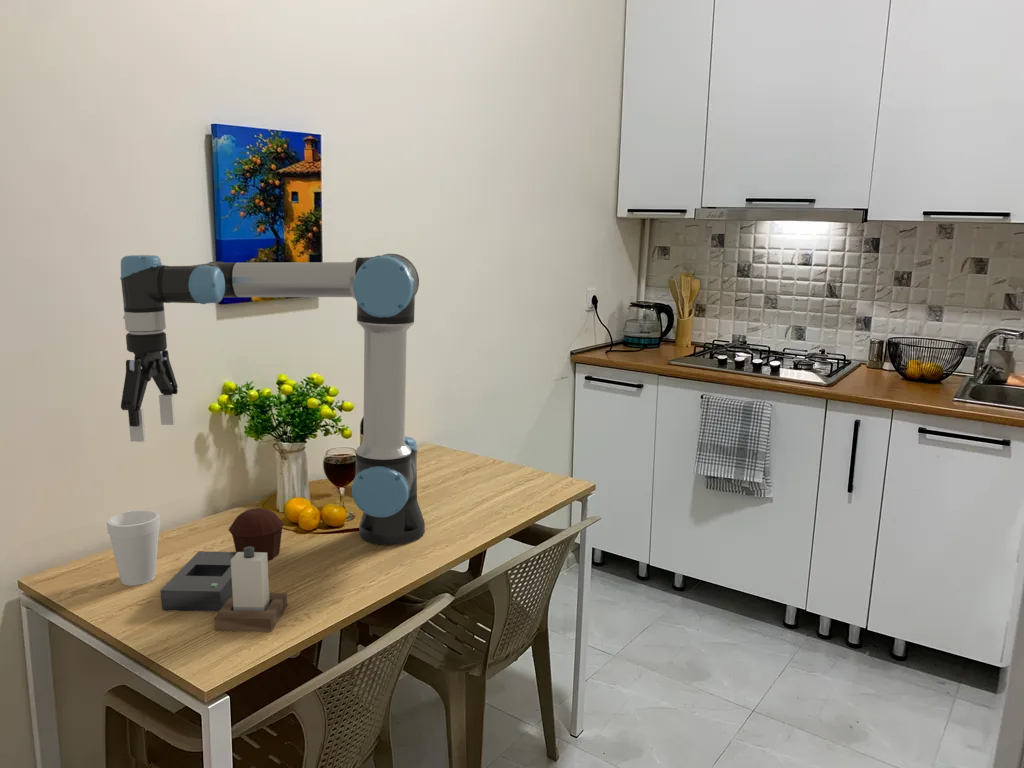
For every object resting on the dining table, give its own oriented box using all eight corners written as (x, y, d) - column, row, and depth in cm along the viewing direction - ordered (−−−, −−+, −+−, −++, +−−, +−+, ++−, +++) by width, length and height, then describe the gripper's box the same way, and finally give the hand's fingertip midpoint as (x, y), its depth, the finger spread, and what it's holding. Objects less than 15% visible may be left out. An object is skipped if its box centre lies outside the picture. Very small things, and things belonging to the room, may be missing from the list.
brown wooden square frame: (234, 604, 153) (233, 592, 153) (287, 605, 153) (286, 593, 153) (214, 630, 143) (214, 617, 143) (271, 631, 143) (270, 618, 143)
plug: (241, 612, 150) (237, 544, 147) (270, 613, 150) (266, 544, 147) (234, 622, 147) (230, 552, 144) (263, 622, 146) (260, 552, 144)
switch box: (199, 569, 168) (198, 550, 167) (252, 570, 168) (251, 551, 167) (161, 610, 150) (160, 589, 150) (220, 611, 150) (219, 590, 149)
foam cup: (160, 586, 160) (155, 524, 158) (108, 591, 157) (103, 528, 155) (165, 566, 169) (161, 507, 166) (117, 571, 166) (112, 511, 164)
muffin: (238, 544, 181) (235, 502, 179) (288, 543, 182) (286, 501, 180) (224, 567, 169) (222, 522, 167) (279, 565, 171) (276, 520, 169)
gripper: (155, 323, 178) (162, 417, 182) (95, 340, 153) (105, 448, 157) (189, 324, 178) (195, 418, 182) (134, 340, 153) (143, 449, 157)
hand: (153, 432), depth 170 cm, fingers open, 13 cm apart
